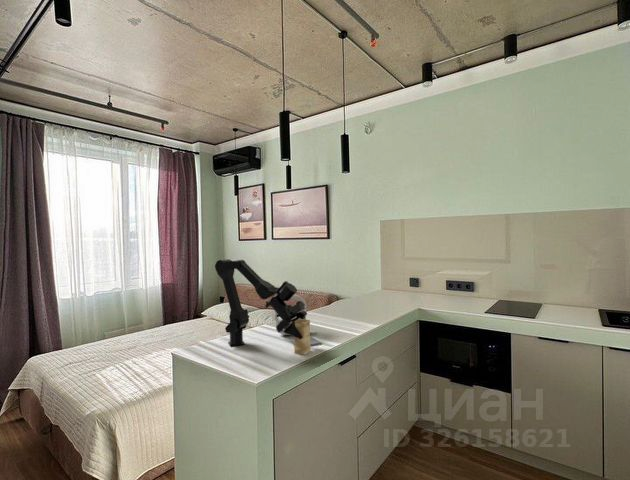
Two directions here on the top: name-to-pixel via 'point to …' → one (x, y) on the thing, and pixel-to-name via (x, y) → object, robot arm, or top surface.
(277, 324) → the headphones
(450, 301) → the top surface
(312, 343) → the rubber mat
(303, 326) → the oak block
